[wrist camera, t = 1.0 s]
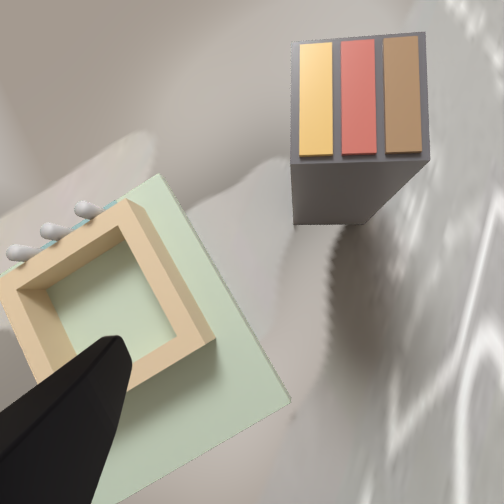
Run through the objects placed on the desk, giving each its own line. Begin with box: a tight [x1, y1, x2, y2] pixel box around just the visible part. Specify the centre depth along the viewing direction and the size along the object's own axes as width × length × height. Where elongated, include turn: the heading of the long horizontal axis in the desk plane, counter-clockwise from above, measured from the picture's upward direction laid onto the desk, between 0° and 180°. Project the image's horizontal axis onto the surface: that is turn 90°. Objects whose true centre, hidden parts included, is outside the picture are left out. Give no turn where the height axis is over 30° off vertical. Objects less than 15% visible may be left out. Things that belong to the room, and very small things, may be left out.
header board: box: [0, 173, 291, 504], centre depth 21 cm, size 17×14×4 cm
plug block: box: [290, 32, 430, 225], centre depth 17 cm, size 4×4×11 cm
